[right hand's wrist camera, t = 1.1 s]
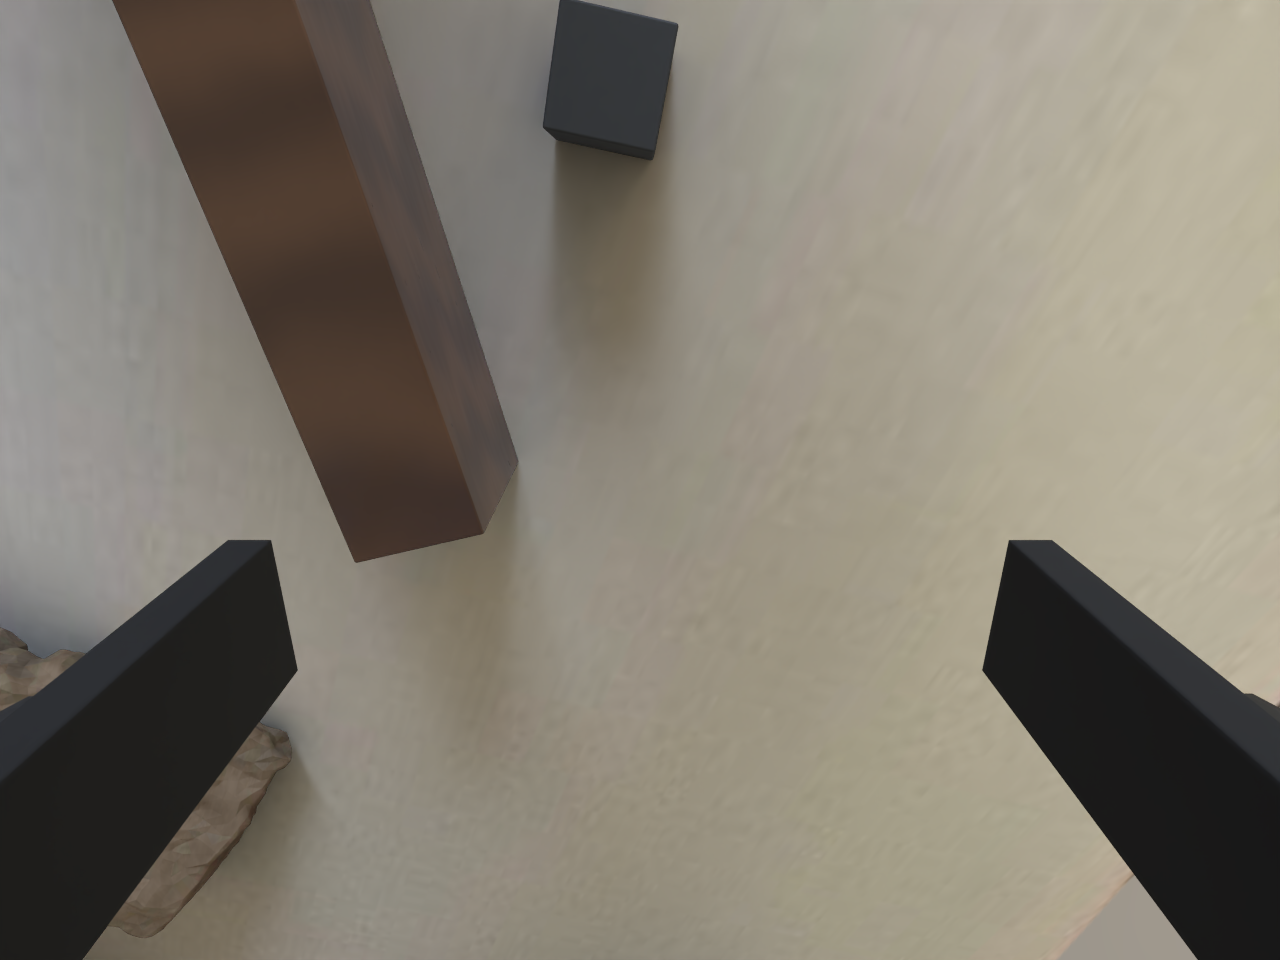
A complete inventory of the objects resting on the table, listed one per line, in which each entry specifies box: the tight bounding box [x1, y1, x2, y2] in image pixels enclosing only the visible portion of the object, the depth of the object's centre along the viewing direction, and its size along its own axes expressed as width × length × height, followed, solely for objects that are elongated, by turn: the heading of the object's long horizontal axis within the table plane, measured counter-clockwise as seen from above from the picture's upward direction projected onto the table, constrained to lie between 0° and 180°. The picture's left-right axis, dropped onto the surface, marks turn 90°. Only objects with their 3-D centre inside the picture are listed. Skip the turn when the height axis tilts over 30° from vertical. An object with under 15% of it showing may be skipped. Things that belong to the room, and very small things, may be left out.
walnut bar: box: [112, 0, 518, 563], centre depth 25 cm, size 26×5×8 cm, turn 14°
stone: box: [0, 627, 292, 938], centre depth 36 cm, size 21×15×6 cm
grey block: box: [543, 0, 678, 160], centre depth 26 cm, size 4×4×4 cm
